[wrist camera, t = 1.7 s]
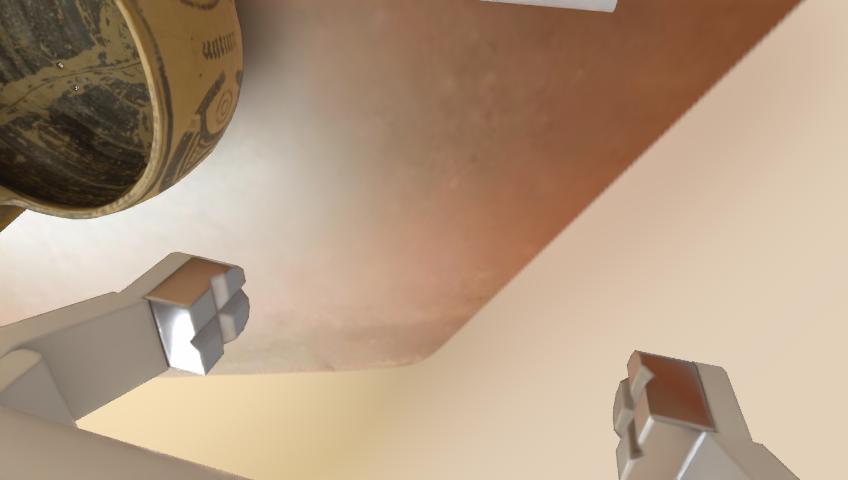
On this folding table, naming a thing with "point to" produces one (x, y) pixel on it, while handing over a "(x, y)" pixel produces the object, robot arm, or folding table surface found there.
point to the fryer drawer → (569, 4)
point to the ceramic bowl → (110, 99)
